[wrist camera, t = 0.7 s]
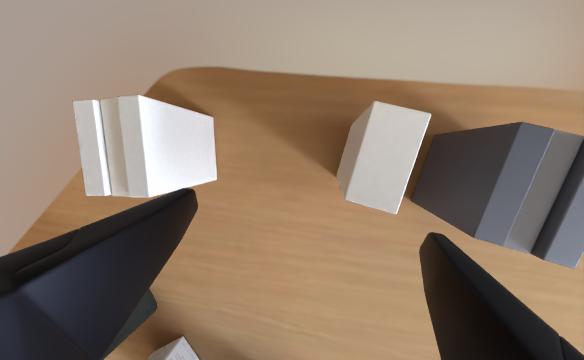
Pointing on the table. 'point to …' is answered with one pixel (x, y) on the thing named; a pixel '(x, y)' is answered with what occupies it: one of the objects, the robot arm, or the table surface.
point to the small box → (174, 351)
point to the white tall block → (381, 155)
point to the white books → (143, 146)
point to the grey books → (510, 188)
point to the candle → (134, 320)
